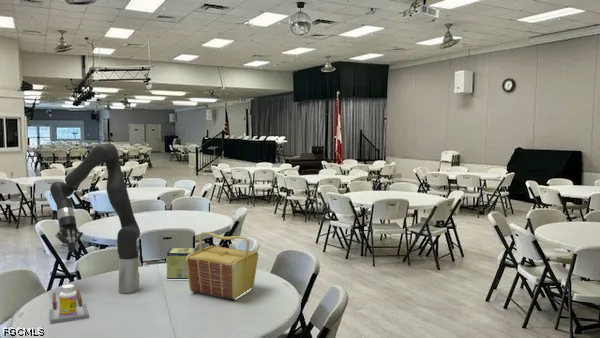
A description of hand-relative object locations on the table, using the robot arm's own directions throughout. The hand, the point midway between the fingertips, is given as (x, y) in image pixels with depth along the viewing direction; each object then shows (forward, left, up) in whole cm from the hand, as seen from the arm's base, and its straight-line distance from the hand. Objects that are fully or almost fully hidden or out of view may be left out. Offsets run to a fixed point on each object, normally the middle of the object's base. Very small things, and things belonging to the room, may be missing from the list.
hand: (72, 251), depth 220 cm
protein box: (-55, -7, -22) cm, 60 cm away
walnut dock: (+3, +9, -22) cm, 24 cm away
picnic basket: (-67, +24, -22) cm, 75 cm away
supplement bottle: (+3, +24, -22) cm, 33 cm away
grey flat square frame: (+3, +25, -22) cm, 33 cm away
